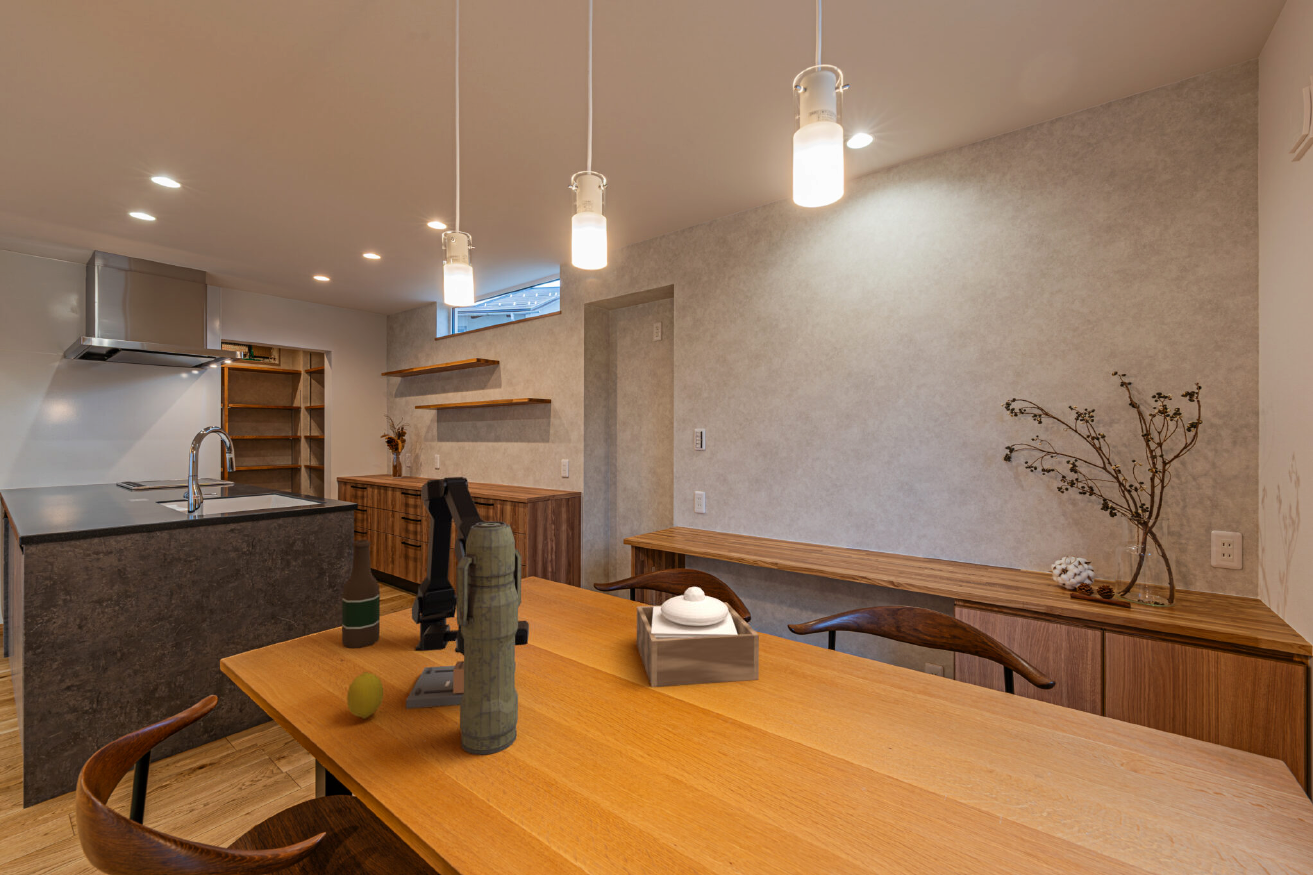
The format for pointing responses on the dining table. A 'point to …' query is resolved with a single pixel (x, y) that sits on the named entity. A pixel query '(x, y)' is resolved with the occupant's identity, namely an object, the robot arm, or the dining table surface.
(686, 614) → the butter dish
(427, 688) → the console
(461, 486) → the robot arm
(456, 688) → the fader
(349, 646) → the beer bottle
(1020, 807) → the dining table surface
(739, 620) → the dish corral
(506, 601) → the thermos
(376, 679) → the lemon
